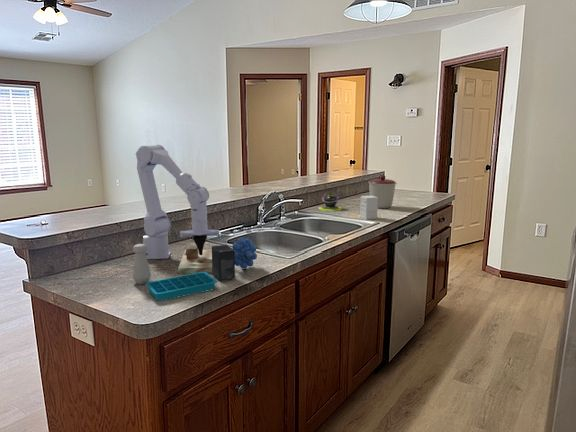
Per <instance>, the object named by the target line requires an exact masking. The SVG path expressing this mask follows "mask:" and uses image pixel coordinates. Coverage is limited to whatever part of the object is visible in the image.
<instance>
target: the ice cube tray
mask: <svg viewBox="0 0 576 432" xmlns="http://www.w3.org/2000/svg"><path fill="white" fill-rule="evenodd" d="M217 283H218V279H217V278H216V277H214V276H213V275H211V274H210V273H207V272H199V273H188V274H183V275H178V276H173V277H168V278H162V279H157V280H152V281H149V282H147V283H146V284H145V285H146V287H147V288H148V289H149V292H150V293H151V295H152V296H153V297H154V298H155V300H156V301H157V300H158V301H157V302H160V301H161V300H163V301H166V300H165V299H168V300H171V299H170V298H172V299H175V298H174V297H177V298H179V297H178V296H182V297H184V296H183V295H186V296H189V295H188V294H191V295H194V294H193V293H196V294H198V293H197V292H200V293H203V292H202V291H205V292H207V291H206V290H210V291H212V290H211V289H213V290H215V287H216V286H215V284H217ZM161 302H162V301H161Z"/></svg>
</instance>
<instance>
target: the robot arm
mask: <svg viewBox="0 0 576 432" xmlns="http://www.w3.org/2000/svg"><path fill="white" fill-rule="evenodd" d="M135 156H136V161H137V164H136V170H137V175H138V178H139V183H140V187H141V191H142V195H143V199H144V204H145V208H146V214H145V215H144V217H143V223H144V225H143V229H144V232H145V235H143V236H142V237H143V238H142V244H145V245H146V246H147V251H146V252H145V253H146V257H147V260H163V259H166V260H169V258H170V256H171V255H172V252H171V251H170V250H169V237H168V236H169V231H170V229H171V228H172V223H171V220H170V218H169V217H168V214H167V212H166V211H164V210H163V209H162V207H161V205H162V204H161V201H160V198H159V193H158V188H157V184H156V180H155V176H154V172H153V171H154V169H155V167H156V166H157V165H161V166H162V167H163V168H164V169H165V170H166V171H167V172H169V174H170V175H172V177H173V178H174V179H175V184H176V185H177V186H178V187H179V188H180V189H181V190H182V192H183V193H184V194H185V195H186V196H187V201H188V203H189V205H190V207H189V208H190V213H191V214H190V215H191V228H192V229H191V230H180V232H179V236H180V238H184V237H192V239H193V241H194V243H195V246H197V248H198V251H199V255H202V254H203V250H204V247H205V243H206V241H207V239H208V238H207V237H211V236H213V237H214V236H216V237H220V229H208V212H207V210H208V209H207V208H208V207H207V201H208V200H209V199H210V193H209V191H208V189H207V187H205V186H201V185H200V184H199V183H197V182H196V181H195V179H194V178H193V175H192V174H191V173H187V172H183V171H182V170H181V169H180V167H179V166H178V165H177V164H176V162H175V161H174V160H173V159H172V157H171V156H170V155H169V151H168V150H167V149H165V147H164V146H163V145H161V144H155V145H140V147H138V149H137V151H136V153H135Z"/></svg>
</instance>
